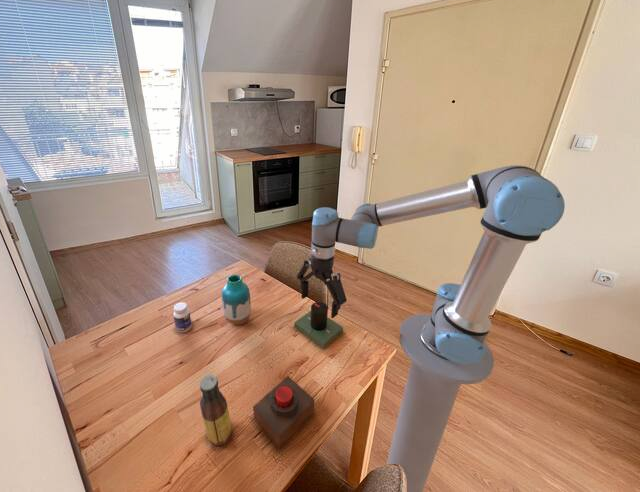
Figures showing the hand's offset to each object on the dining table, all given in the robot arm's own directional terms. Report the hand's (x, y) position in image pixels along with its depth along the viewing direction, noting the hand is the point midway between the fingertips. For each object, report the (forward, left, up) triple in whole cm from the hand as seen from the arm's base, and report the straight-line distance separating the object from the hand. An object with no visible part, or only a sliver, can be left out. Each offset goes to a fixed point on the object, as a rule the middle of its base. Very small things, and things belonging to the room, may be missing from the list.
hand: (318, 306), depth 104 cm
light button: (+8, +33, -4) cm, 34 cm away
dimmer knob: (0, 0, -8) cm, 8 cm away
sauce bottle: (+24, +40, -11) cm, 48 cm away
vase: (+31, -1, -11) cm, 33 cm away
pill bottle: (+50, +6, -11) cm, 51 cm away
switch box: (+8, +33, -11) cm, 36 cm away
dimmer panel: (0, 0, -11) cm, 11 cm away
